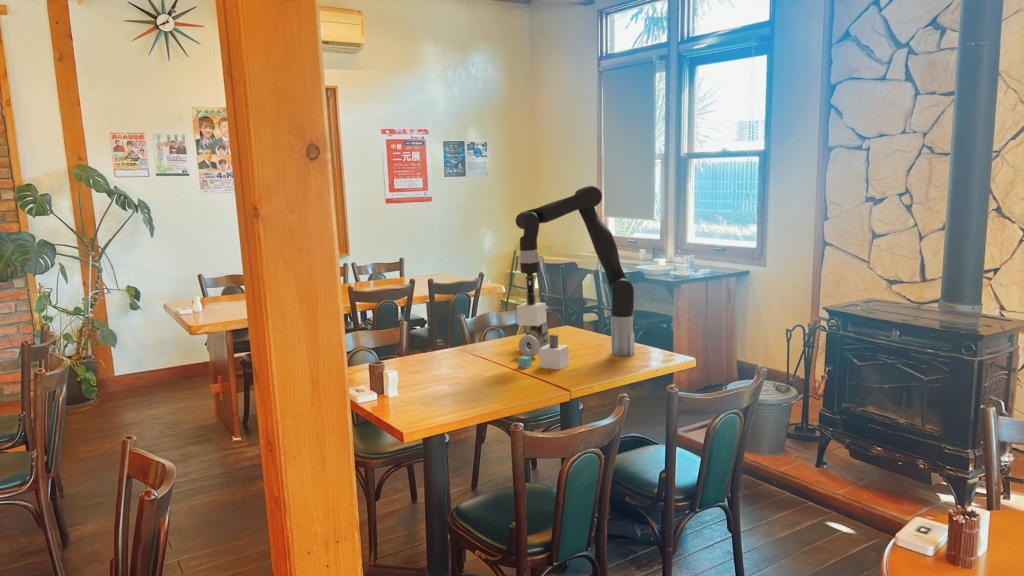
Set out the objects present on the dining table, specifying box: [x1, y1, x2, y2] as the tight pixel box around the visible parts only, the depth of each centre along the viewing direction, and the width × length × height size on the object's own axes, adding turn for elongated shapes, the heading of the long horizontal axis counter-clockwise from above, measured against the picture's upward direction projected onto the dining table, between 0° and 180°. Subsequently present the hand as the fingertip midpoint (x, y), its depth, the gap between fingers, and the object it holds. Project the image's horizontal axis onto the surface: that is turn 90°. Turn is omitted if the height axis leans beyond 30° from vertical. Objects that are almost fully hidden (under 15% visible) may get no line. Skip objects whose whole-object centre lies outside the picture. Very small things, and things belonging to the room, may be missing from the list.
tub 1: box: [516, 291, 547, 326], centre depth 274 cm, size 9×9×13 cm
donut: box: [518, 334, 540, 358], centre depth 291 cm, size 10×4×10 cm, turn 60°
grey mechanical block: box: [525, 312, 550, 349], centre depth 310 cm, size 9×6×16 cm
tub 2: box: [538, 333, 570, 371], centre depth 274 cm, size 9×9×13 cm
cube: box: [517, 355, 532, 369], centre depth 275 cm, size 4×4×4 cm
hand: (531, 302), depth 274 cm, fingers closed on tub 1, 3 cm apart
